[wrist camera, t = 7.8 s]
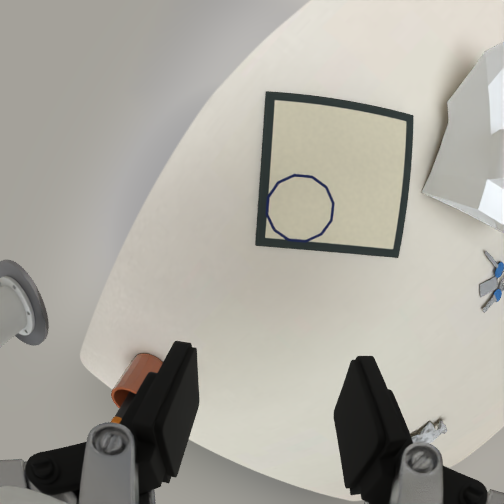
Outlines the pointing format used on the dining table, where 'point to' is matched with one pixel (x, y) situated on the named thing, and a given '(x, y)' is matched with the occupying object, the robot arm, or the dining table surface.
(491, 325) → the dining table surface
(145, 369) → the pen cup
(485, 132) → the folded paper
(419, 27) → the dining table surface
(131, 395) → the marker
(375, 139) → the drawing mat
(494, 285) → the key chain
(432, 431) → the paper
